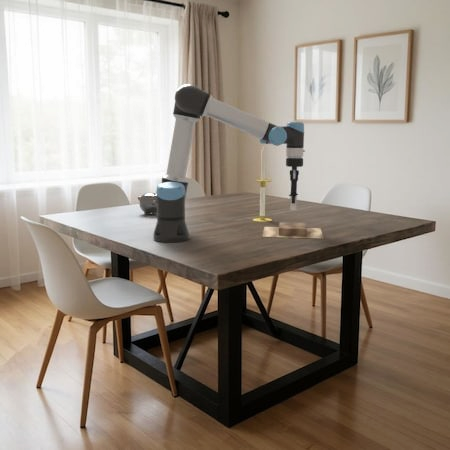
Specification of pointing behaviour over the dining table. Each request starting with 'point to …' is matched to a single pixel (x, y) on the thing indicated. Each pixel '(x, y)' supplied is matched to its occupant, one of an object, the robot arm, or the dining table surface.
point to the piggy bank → (148, 203)
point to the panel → (292, 229)
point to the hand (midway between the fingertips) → (293, 210)
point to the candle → (262, 188)
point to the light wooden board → (274, 232)
